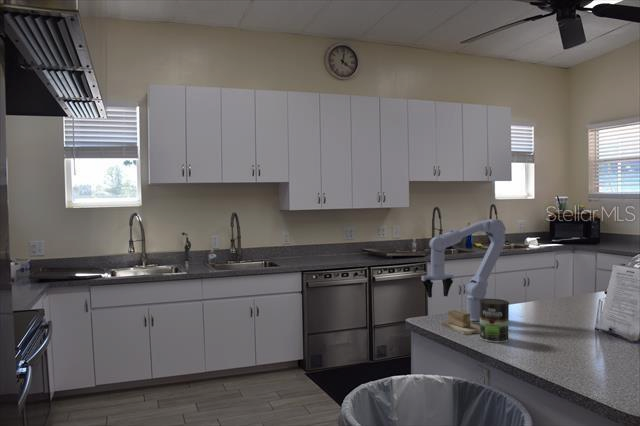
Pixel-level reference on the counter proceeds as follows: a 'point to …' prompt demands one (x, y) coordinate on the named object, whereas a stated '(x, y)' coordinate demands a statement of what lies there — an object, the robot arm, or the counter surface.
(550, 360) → the counter surface
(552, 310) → the counter surface
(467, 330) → the board
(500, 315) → the coffee can
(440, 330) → the counter surface
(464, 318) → the block
